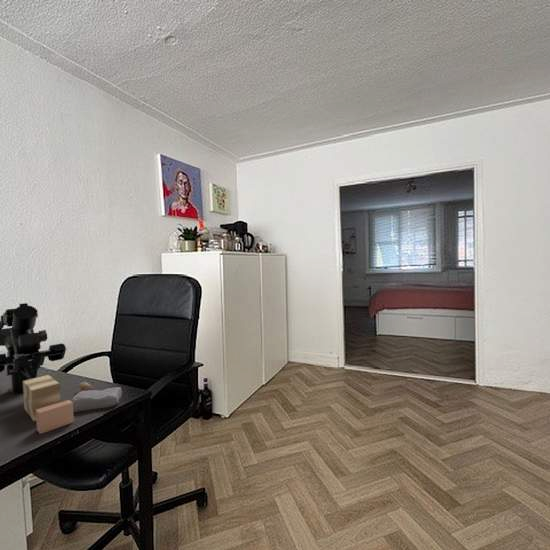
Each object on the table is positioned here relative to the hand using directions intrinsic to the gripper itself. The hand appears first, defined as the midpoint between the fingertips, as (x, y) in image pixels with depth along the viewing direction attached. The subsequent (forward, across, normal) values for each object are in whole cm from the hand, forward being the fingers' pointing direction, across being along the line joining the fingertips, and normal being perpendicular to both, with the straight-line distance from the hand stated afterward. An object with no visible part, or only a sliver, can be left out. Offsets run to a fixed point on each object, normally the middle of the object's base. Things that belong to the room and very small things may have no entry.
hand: (34, 380), depth 91 cm
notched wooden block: (+11, 0, -1) cm, 11 cm away
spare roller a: (+7, +11, +2) cm, 14 cm away
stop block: (+20, 0, -11) cm, 23 cm away
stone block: (+16, +12, -6) cm, 21 cm away
